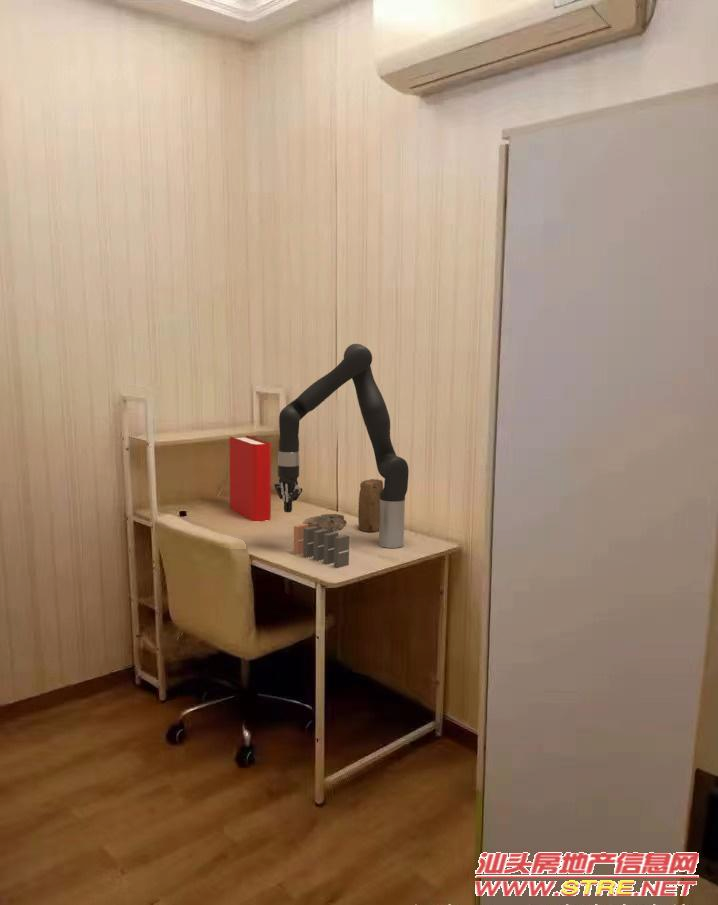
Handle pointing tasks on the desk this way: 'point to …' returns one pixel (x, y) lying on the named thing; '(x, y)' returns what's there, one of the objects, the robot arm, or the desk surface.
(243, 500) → the book
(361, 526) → the block
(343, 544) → the domino
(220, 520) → the desk surface
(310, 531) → the domino
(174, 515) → the desk surface
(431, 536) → the desk surface
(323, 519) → the flat rock
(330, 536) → the domino
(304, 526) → the domino
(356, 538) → the desk surface
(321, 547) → the domino
